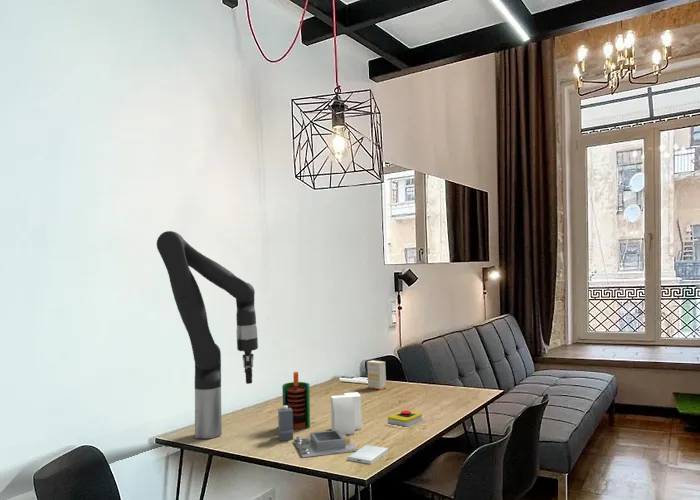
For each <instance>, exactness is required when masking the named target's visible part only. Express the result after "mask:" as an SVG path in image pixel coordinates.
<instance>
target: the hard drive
mask: <svg viewBox="0 0 700 500" xmlns="http://www.w3.org/2000/svg"><path fill="white" fill-rule="evenodd" d="M388 452H389V448H388V447H382V446H378V445H377V446H376V445H369V444H366V445H364V446H362V447H361V448H360V449H358V451H354V452H352V453H351V454H350V455H349V456H347V459H346V460H347V461H351V462H355V463H356V462H357V463H362V464H369V465H372V464H374V462H376V461H377V460H379V459H380V458H382V457H383V456H384V455H386V454H387V453H388Z"/></svg>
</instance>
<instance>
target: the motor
mask: <svg viewBox="0 0 700 500" xmlns="http://www.w3.org/2000/svg"><path fill="white" fill-rule="evenodd" d="M281 387H282V389H281V390H282V406H284V405H287V406H288V408H291V409H292V410H293V431H299V430H304V429H310V428H311V394H310V393H311V384H310V383H309V382H305V381H304V382H303V381H299V371H293V381H292V382H286V383H283V384H282V386H281Z"/></svg>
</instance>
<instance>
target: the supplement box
mask: <svg viewBox="0 0 700 500" xmlns="http://www.w3.org/2000/svg"><path fill="white" fill-rule="evenodd" d="M366 362H367V363H366V364H367V365H366V366H367V388H369V389H373V388H374V389H373V390H380V391H381V390H384V388H385V389H387V375H386V374H387V372H386V361H381V360H373V359H372V360H368V361H366Z"/></svg>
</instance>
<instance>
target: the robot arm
mask: <svg viewBox="0 0 700 500" xmlns="http://www.w3.org/2000/svg"><path fill="white" fill-rule="evenodd" d="M156 249H157V252H159V255H160V257H161V259H162V263H163V264H164V266H165V269H166V271H167V275H168V277H169V278H168V279H169V283H170V287H171V291H172V295H173V298H174V302H175V304H176V307H177V311H178V313H179V316H180V318H181V321H182V323H183V325H184V328H185V330H186V332H187V333H188V337H189V341H190V344H191V345H190V346H191V350H192V355H193V360H194V439H200V440H201V439H202V440H203V439H206V440H207V439H214V438H218V437H220V436H221V435H222V431H223V430H222V429H223V427H222V424H223V423H222V353H221V349H220V346H219V345H218V344H216V342H215V339H214V337H213V335H212V332H211V330H210V327H209V323H208V321H209V320H208V316H207V315H208V314H207V309H206V305H205V303H204V298H203V296H202V291H201V289H200V287H199V285H198V282H197V280H196V279H195V276H194V274H193V273H192V270H191V269H193V270H194V271H196V272H197V273H198V274H200V276H201V277H203V278H205V279H206V280H207V281H209V282H211V283H212V284H213V285H215V286H216V287H218V288H220V289H222V290H224V291H225V292H227V293H228V294H229V295H230V296H232V297H233V298H234V299H235V304H236V315H235V316H236V317H235V318H236V349H237V351H238V352H244V354H242V363H243V369H244V373H245V384H247V385H248V384H249V385H250V384H253V368H254V353H252V351H256V350H258V349H259V348H258V347H259V338H258V327H257V317H256V316H257V315H256V309H255V288H254V286H253V285H252V284H251V283H249V282H246V281H244V280H243V279H242V278H240V277H238V276H236V275H235V273H233V272H232V271H230V270H229V269H227V268H226V267H225V266H222V265H221V264H220V263H218V262H216V261H215V260H213V259H211V258H209V257H208V256H206V255H204V254H202V253H201V252H200V251H198V250H196V249H195V247H193V246H192V245H190V244H189V243H188V242H187V241H186V239H184V237H182V235H180V234H179V233H178V232H175V231H173V230H172V231H170V230H167V231H164V232H162V233H160V235H159V236H158V237H157V240H156ZM190 268H191V269H190Z"/></svg>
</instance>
